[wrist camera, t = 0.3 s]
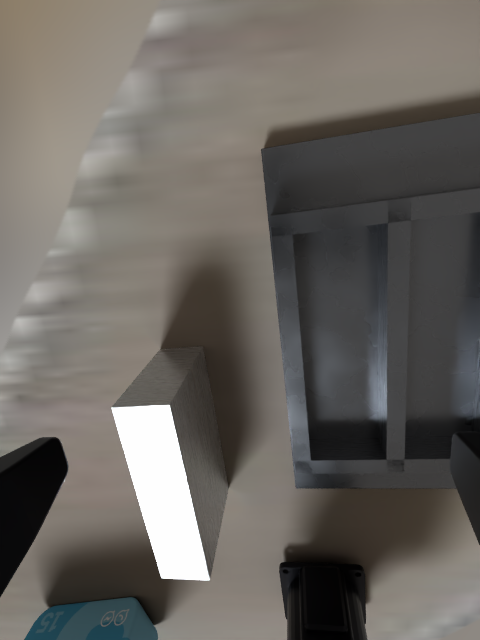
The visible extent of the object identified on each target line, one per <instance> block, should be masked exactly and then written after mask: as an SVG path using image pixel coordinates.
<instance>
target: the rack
mask: <svg viewBox="0 0 480 640" xmlns="http://www.w3.org/2000/svg"><path fill="white" fill-rule="evenodd" d="M261 153H262V163H263V172H264V182H265V192H266V202H267V211H268V221H269V231H270V241H271V251H272V260H273V270H274V280H275V290H276V299H277V309H278V319H279V329H280V339H281V348H282V358H283V368H284V378H285V387H286V397H287V407H288V417H289V427H290V436H291V446H292V456H293V466H294V475H295V485H296V488H456V485H455V483H454V480H453V478H452V475H451V470H450V457H451V445H452V437H453V434H454V433H456V432H466V431H475V432H478V433H480V113H475V114H469V115H463V116H457V117H451V118H445V119H439V120H433V121H427V122H421V123H415V124H409V125H403V126H397V127H391V128H385V129H379V130H373V131H367V132H361V133H355V134H348V135H342V136H336V137H330V138H324V139H318V140H312V141H306V142H300V143H294V144H288V145H282V146H276V147H270V148H264V149H261Z"/></svg>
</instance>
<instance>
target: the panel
mask: <svg viewBox="0 0 480 640" xmlns="http://www.w3.org/2000/svg"><path fill="white" fill-rule="evenodd" d="M111 408H112V412H113V415H114V418H115V422H116V425H117V429H118V432H119V435H120V439H121V442H122V446H123V449H124V452H125V456H126V459H127V463H128V466H129V469H130V473H131V476H132V480H133V483H134V486H135V490H136V493H137V497H138V500H139V503H140V507H141V510H142V514H143V517H144V520H145V524H146V527H147V530H148V534H149V537H150V541H151V544H152V547H153V551H154V554H155V558H156V561H157V564H158V568H159V571H160V575H161V578H168V579H188V580H209V581H210V577H211V572H212V567H213V562H214V557H215V552H216V548H217V543H218V538H219V533H220V528H221V523H222V518H223V513H224V508H225V504H226V499H227V494H228V489H229V486H228V481H227V475H226V470H225V464H224V459H223V453H222V448H221V442H220V437H219V431H218V426H217V420H216V415H215V409H214V404H213V398H212V393H211V387H210V382H209V376H208V371H207V365H206V360H205V354H204V349H203V346H196V347H182V348H168V349H160V350H159V351H158V352H157V354H156V355H155V356H154V357H153V358H152V360H151V361H150V362H149V363H148V364H147V366H146V367H145V368H144V369H143V370H142V372H141V373H140V374H139V375H138V376H137V377H136V379H135V380H134V381H133V382H132V383H131V385H130V386H129V387H128V388H127V389H126V391H125V392H124V393H123V394H122V395H121V397H120V398H119V399H118V400H117V401H116V403H115V404H114V405H113V406H112V407H111Z"/></svg>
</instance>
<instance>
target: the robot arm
mask: <svg viewBox="0 0 480 640" xmlns="http://www.w3.org/2000/svg"><path fill="white" fill-rule="evenodd" d="M450 470H451V475H452V478H453V480H454V483H455V485H456V488H457V490H458V493H459V495H460V498H461V500H462V503H463V505H464V508H465V510H466V513H467V515H468V518H469V520H470V523H471V525H472V528H473V530H474V532H475V535H476V537H477V540H478V542H479V545H480V433H478V432H475V431H466V432H456V433H454V434H453V437H452V445H451V457H450ZM67 473H68V461H67V458H66V455H65V452H64V449H63V446H62V443H61V441H60V440H59V439H58V438H56V437H42V438H39V439H37V440H35V441H33V442H31V443H29V444H26V445H24V446H22V447H20V448H18V449H16V450H14V451H12V452H10V453H8V454H6V455H4V456H2V457H0V597H1V595H2V594H3V592H4V590H5V589H6V587H7V585H8V584H9V582H10V580H11V578H12V577H13V575H14V573H15V572H16V570H17V568H18V567H19V565H20V563H21V562H22V560H23V558H24V557H25V555H26V553H27V552H28V550H29V548H30V547H31V545H32V543H33V541H34V540H35V538H36V536H37V534H38V532H39V530H40V528H41V526H42V524H43V522H44V520H45V518H46V516H47V514H48V512H49V510H50V508H51V506H52V504H53V502H54V500H55V498H56V496H57V494H58V492H59V490H60V488H61V486H62V484H63V482H64V480H65V478H66V476H67ZM279 573H280V580H281V587H282V595H283V602H284V610H285V617H286V619H287V640H367V635H366V629H365V624H366V604H365V573H364V569H363V567H362V566H360V565H351V564H324V563H296V562H282V563H281V564H280V566H279Z"/></svg>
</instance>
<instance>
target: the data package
mask: <svg viewBox="0 0 480 640" xmlns="http://www.w3.org/2000/svg"><path fill="white" fill-rule="evenodd" d="M24 640H158V634H157V630H156V628H155V627H154V625H153V624H152V622H151V621H150V619H149V617H148V616H147V614H146V613H145V611H144V610H143V608H142V606H141V605H140V603H139V602H138V600H137V599H135V598H133V597H127V598H118V599H109V600H101V601H92V602H83V603H74V604H65V605H57V606H53V607H51V608H49V609H47V610H46V611H45V612H44V613H42V614H41V615H40V616H39V618H38V619H37V620H36V621H35V623H34V624H33V626H32V628H31V629H30V631H29V633H28V634H27V636H26V638H25V639H24Z"/></svg>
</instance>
